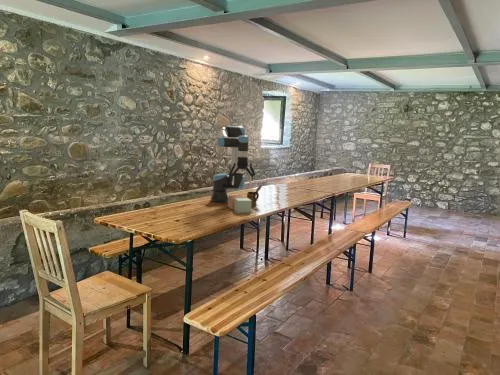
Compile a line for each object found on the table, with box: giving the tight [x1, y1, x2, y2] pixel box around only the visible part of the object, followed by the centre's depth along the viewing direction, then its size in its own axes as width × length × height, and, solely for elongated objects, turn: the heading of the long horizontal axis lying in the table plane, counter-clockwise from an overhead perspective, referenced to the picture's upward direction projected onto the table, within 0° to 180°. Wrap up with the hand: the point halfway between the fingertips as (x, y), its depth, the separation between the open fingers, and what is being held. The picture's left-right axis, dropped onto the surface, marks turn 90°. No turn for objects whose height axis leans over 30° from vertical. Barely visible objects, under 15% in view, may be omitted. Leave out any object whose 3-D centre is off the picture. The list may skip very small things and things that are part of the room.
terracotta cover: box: [227, 195, 245, 210], centre depth 295 cm, size 10×10×9 cm
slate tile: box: [231, 209, 254, 214], centre depth 283 cm, size 13×13×1 cm
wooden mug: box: [246, 185, 262, 207], centre depth 304 cm, size 9×14×18 cm, turn 61°
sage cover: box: [234, 197, 252, 214], centre depth 283 cm, size 10×10×9 cm
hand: (241, 184), depth 282 cm, fingers open, 13 cm apart
